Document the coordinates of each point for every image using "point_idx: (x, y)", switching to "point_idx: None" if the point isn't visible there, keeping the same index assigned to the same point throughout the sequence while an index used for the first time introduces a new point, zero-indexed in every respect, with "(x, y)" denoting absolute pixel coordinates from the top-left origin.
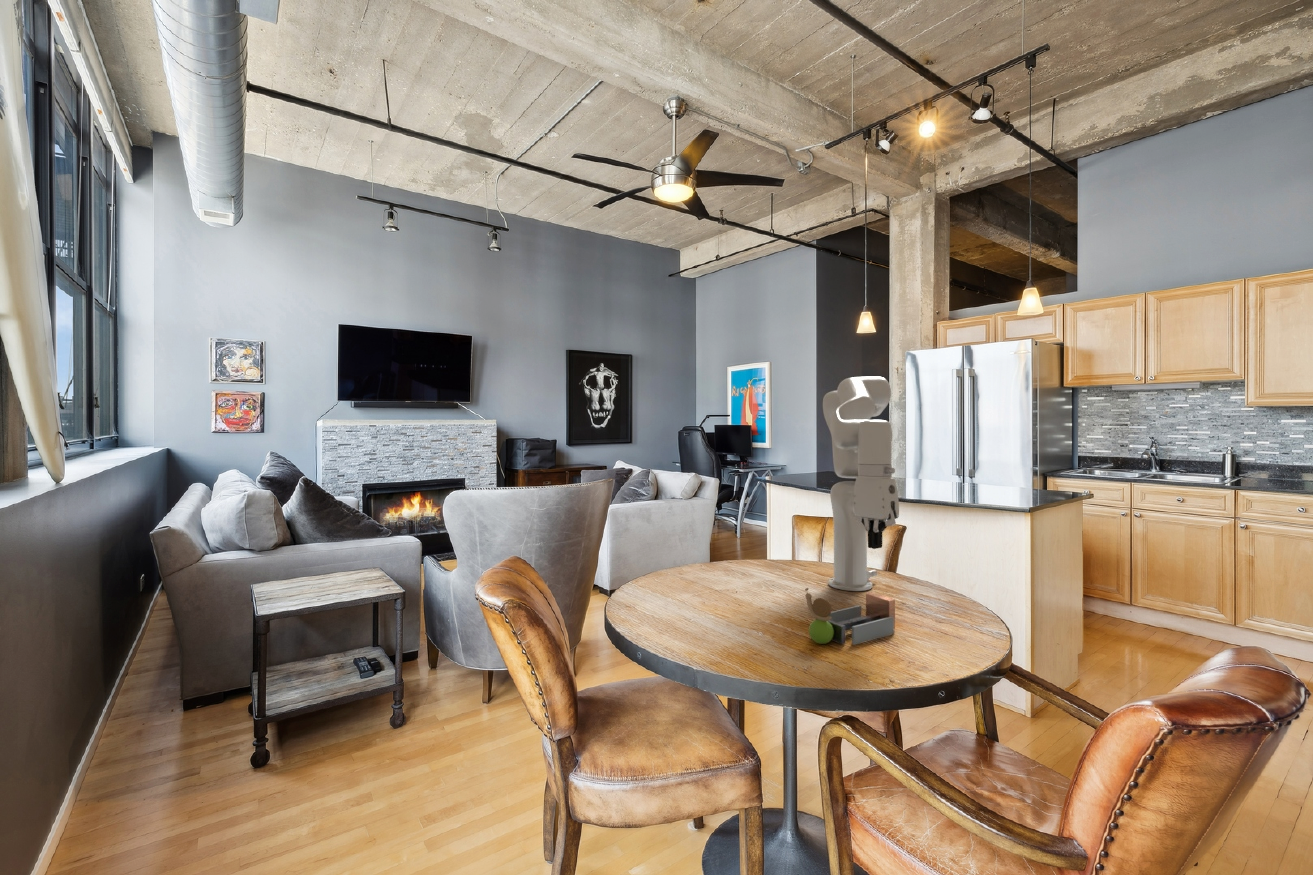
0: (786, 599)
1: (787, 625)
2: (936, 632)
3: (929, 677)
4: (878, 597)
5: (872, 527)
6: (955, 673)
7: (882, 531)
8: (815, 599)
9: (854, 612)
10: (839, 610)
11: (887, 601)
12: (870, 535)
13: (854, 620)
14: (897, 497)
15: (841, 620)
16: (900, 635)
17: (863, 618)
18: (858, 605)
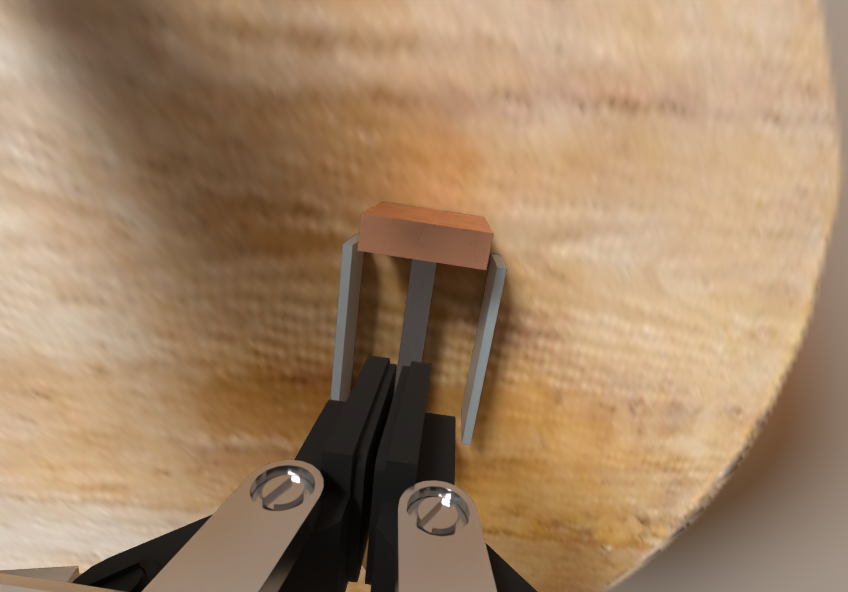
0: (55, 238)
1: (258, 425)
2: (598, 121)
3: (706, 451)
4: (427, 260)
5: (315, 583)
6: (753, 388)
7: (444, 494)
8: (365, 568)
9: (353, 276)
10: (338, 349)
11: (477, 268)
12: (362, 553)
13: (413, 360)
14: None
15: (352, 330)
16: (522, 249)
17: (421, 321)
18: (343, 249)
